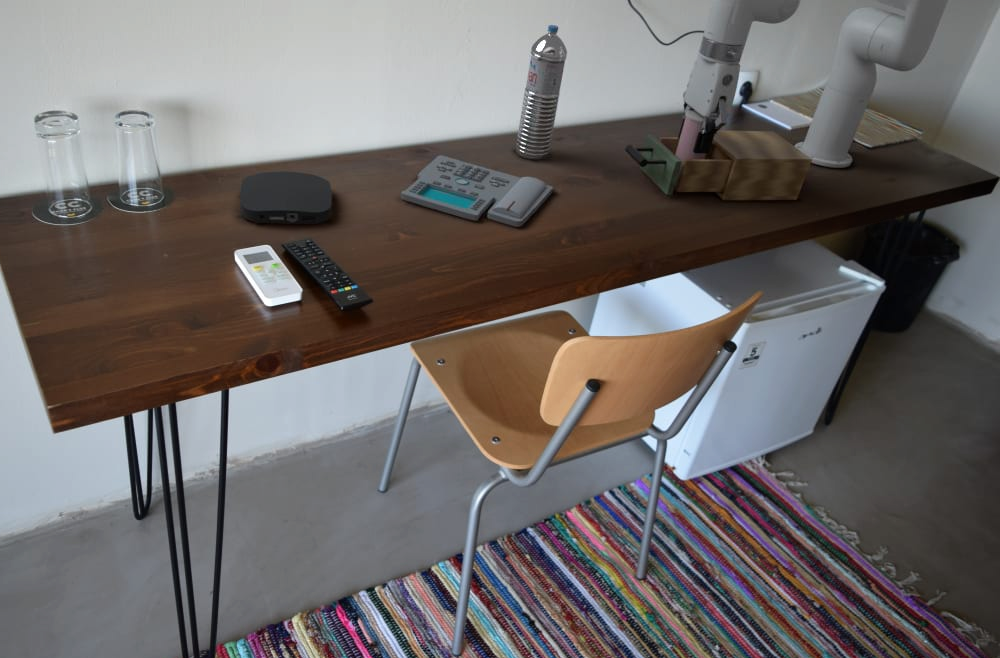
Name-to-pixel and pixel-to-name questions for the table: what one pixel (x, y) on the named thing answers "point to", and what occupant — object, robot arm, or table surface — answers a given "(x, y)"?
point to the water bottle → (541, 96)
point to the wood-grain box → (761, 166)
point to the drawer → (694, 172)
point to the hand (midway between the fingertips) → (693, 145)
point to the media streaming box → (286, 198)
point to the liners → (690, 137)
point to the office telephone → (477, 191)
